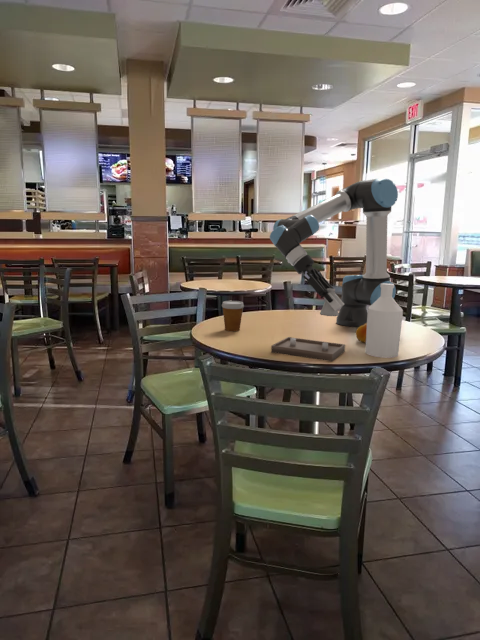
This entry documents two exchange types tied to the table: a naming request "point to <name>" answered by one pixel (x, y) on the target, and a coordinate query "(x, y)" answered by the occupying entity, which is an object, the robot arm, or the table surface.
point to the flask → (329, 306)
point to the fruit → (361, 333)
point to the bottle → (384, 325)
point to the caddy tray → (308, 348)
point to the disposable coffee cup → (232, 315)
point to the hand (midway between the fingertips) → (339, 307)
